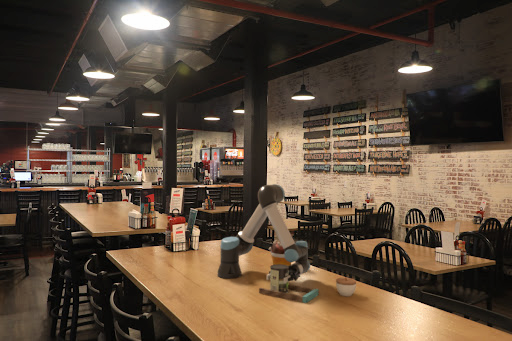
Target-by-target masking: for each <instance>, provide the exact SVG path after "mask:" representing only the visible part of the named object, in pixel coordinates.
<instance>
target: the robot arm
mask: <svg viewBox="0 0 512 341" xmlns="http://www.w3.org/2000/svg"><path fill="white" fill-rule="evenodd" d="M285 197H286V194H285V190H284V188H283V186H282V185H280V184H265V185H263V186H260V188H259V190H258V192H257V199H258V200H257V201H258V203H259V204H258V205H257V207H256V208H255V210H254V212H253V214H252V215H251V217H250V218H249V220H248V221H247V223H246V224H245V226H244V228H243V229H242V230H239V232H238V233H237V235H236V236H227V237H224V238H222V239H221V241H220V246H219V247H220V264H219V267H218V270H217V277H219V278H223V279H238V278H241V277H242V269H241V266H240V256H243V255H247V254H248V253H250V252H251V251H252V249H253V246H254V243H255V239H254V238H255V236H256V235H257V233H258V231H259V230H260V229H261V227H262V225H263V224H264V223H265V221H266V219H267V218H268V220H269V221H270V222H269V223H270V224H271V226H272V228H273V230H274V232H275V234H276V237H277V238H278V241H279V242H281V244H282V247H283V249H284V251H285V254H284V257H285V259H286V260H287V261H288V262H291V265H289V276H287V277H285V278H284V283H287V282H288V283H289V282H291V281H295V282H297V280H298V279H299V278H300V277H301V275H302V274H305V273H307V272H308V271H309V270H310V269H311V263H310V261H309V259H308V256H309V254H308V253H309V252H308V250H309V249H308V248H309V246H308V241H305V240H297V241H295V240H294V239H293V236H292V234H291V232H290V230H289V228H288V226H287V224H286V223H285V222H286V221H285V220H284V218H283V216H282V214H281V213H280V209H279V208H278V204H279V203H281V202H282V201H283V200H284V199H285ZM293 262H294V263H293ZM266 281H270V270H269V271H268V274H266Z"/></svg>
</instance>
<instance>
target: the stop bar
mask: <svg viewBox="0 0 512 341" xmlns="http://www.w3.org/2000/svg"><path fill="white" fill-rule="evenodd" d="M313 289H314V290H312V291H311V292H309V293H305V294H304V295H302V296H303V300H302V302H301V303H304V304H307V303H308V302H310V301H311V300H313V299H315V298H317V296H319V295H318V294H319V293H320V292H319V293H318V291H320V290H319V288H313Z"/></svg>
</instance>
